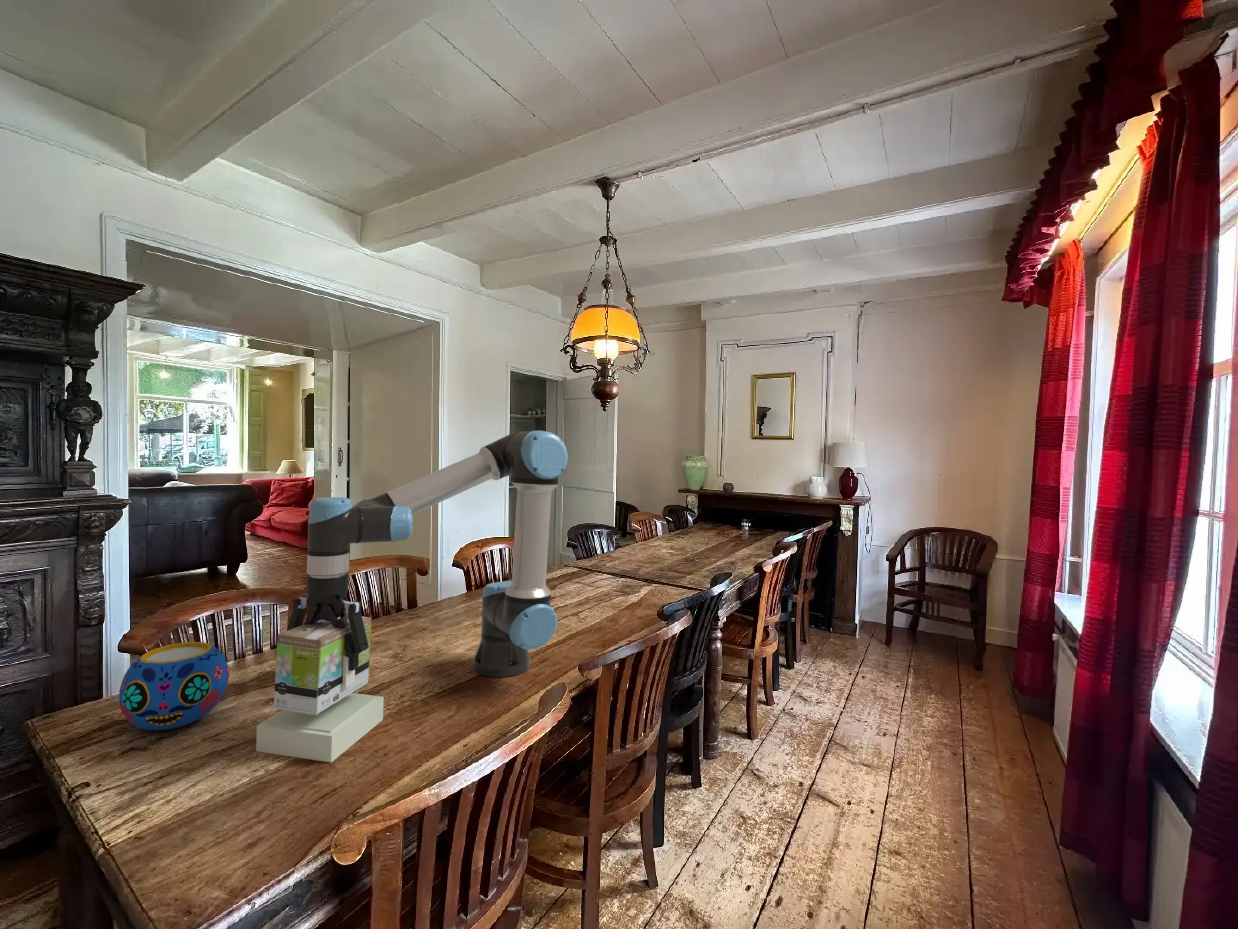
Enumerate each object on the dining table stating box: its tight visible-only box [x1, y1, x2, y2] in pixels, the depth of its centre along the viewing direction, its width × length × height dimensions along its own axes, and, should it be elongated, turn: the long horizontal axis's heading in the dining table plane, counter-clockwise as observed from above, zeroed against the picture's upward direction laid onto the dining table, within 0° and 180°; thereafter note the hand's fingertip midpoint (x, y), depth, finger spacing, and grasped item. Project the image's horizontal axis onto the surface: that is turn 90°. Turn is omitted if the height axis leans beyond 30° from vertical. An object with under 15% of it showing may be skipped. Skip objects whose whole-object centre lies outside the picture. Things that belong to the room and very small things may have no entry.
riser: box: [255, 692, 385, 763], centre depth 106 cm, size 16×16×5 cm
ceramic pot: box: [118, 641, 230, 731], centre depth 108 cm, size 18×18×15 cm
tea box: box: [273, 614, 372, 715], centre depth 106 cm, size 15×10×15 cm
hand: (324, 682), depth 106 cm, fingers closed on tea box, 10 cm apart
